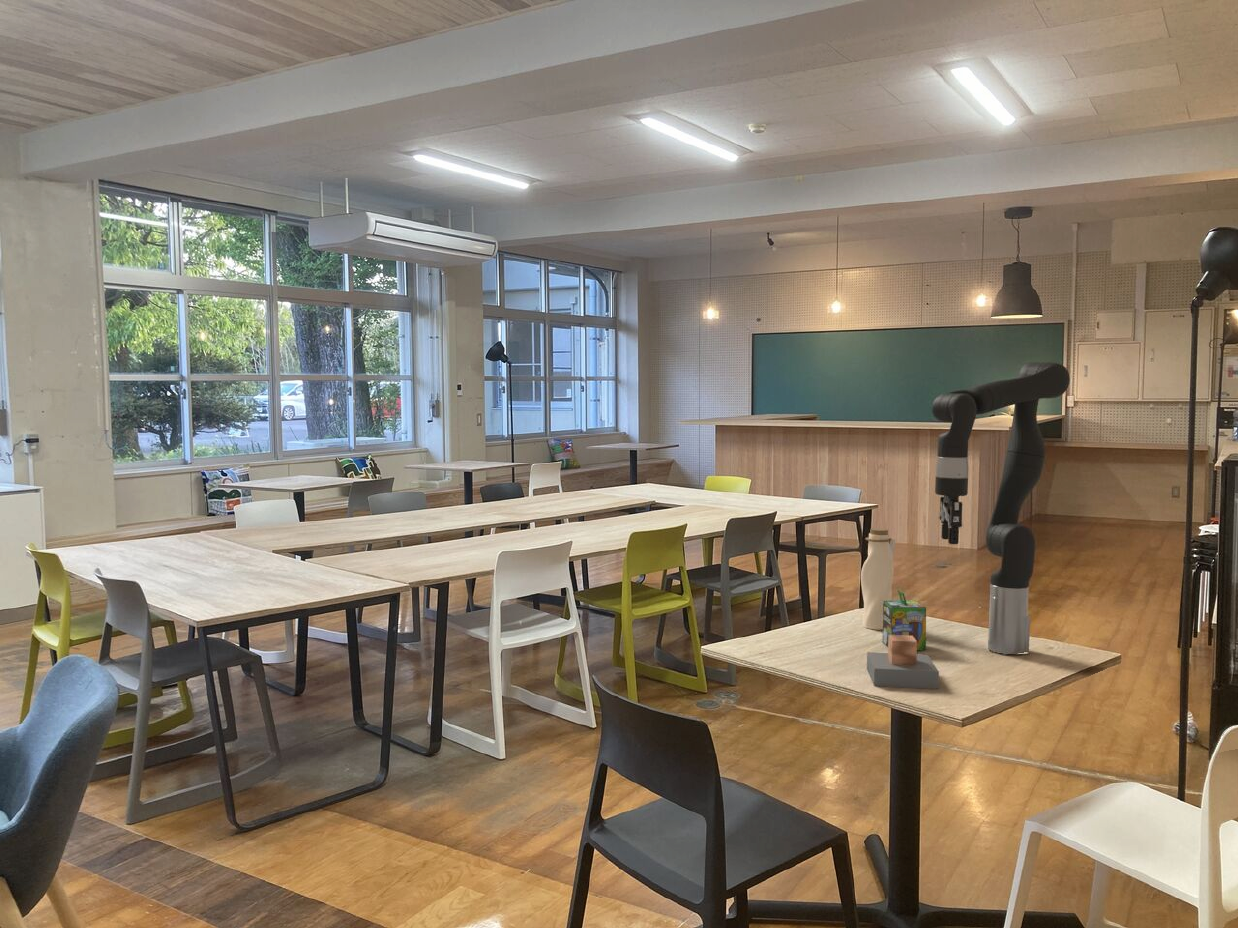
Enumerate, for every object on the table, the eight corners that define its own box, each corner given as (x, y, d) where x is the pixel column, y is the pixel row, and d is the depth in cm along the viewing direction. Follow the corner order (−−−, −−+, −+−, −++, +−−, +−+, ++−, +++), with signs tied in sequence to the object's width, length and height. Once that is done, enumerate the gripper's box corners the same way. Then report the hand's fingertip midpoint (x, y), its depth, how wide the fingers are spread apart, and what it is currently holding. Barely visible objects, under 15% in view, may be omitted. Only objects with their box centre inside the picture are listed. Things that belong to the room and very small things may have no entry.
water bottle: (870, 620, 278) (872, 525, 276) (899, 625, 272) (902, 528, 270) (854, 626, 270) (857, 529, 268) (884, 631, 264) (887, 532, 262)
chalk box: (926, 651, 244) (928, 594, 243) (890, 651, 244) (892, 594, 243) (915, 642, 253) (917, 587, 252) (881, 641, 253) (882, 587, 252)
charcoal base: (927, 671, 226) (927, 654, 225) (938, 688, 212) (938, 671, 212) (866, 668, 228) (867, 652, 227) (873, 685, 214) (874, 668, 214)
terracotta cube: (911, 658, 222) (912, 635, 221) (916, 665, 216) (917, 641, 216) (887, 657, 222) (888, 634, 222) (891, 664, 217) (892, 640, 217)
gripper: (974, 478, 223) (972, 546, 224) (961, 473, 237) (959, 537, 238) (941, 477, 224) (939, 545, 225) (930, 473, 238) (928, 537, 239)
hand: (949, 541), depth 232 cm, fingers open, 8 cm apart
